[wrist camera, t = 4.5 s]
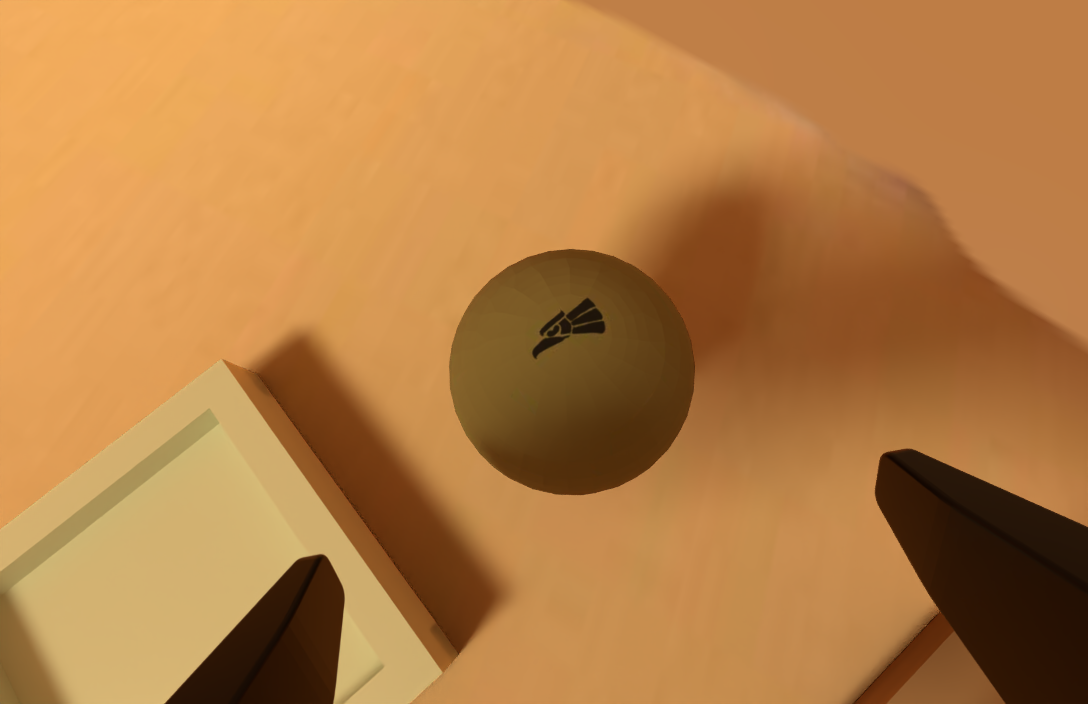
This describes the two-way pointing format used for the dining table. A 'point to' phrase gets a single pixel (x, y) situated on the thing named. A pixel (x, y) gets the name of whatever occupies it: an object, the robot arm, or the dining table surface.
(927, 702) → the bookend
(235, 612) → the tray
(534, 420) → the light bulb
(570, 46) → the dining table surface
